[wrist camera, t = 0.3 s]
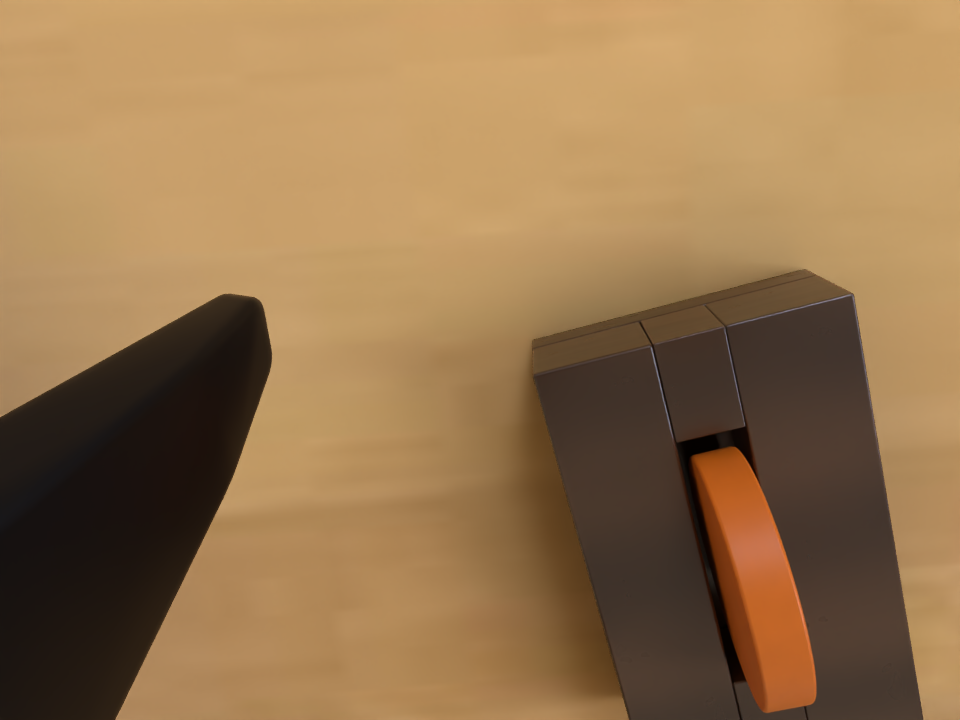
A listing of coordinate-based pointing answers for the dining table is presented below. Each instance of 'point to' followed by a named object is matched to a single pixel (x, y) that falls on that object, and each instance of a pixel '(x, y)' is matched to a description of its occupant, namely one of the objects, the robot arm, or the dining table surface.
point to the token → (753, 580)
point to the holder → (780, 473)
